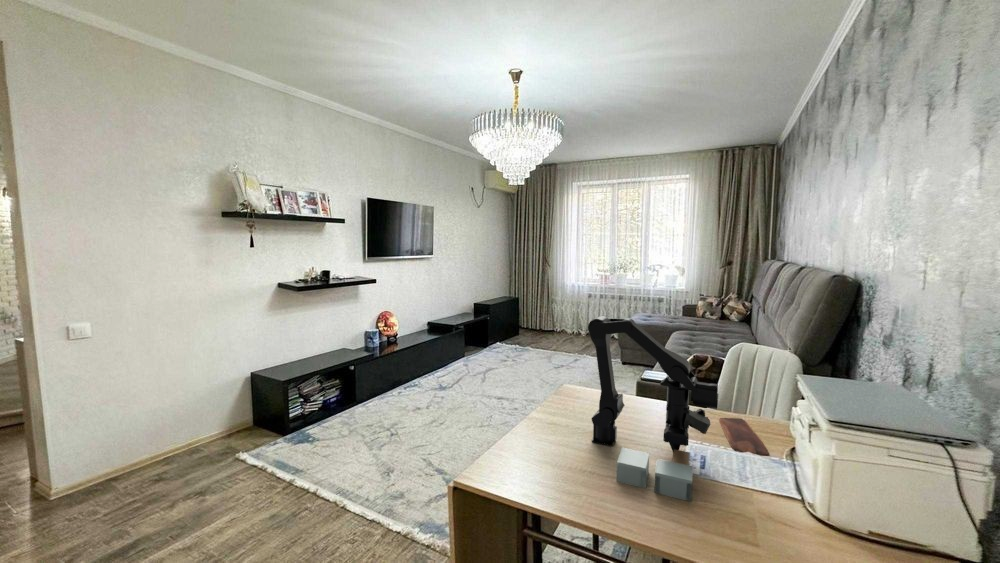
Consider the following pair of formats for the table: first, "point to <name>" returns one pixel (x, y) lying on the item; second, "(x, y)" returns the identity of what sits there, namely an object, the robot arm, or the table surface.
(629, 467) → the end cap
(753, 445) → the wooden tablet
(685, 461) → the brown wooden bar
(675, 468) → the end cap
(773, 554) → the table surface
